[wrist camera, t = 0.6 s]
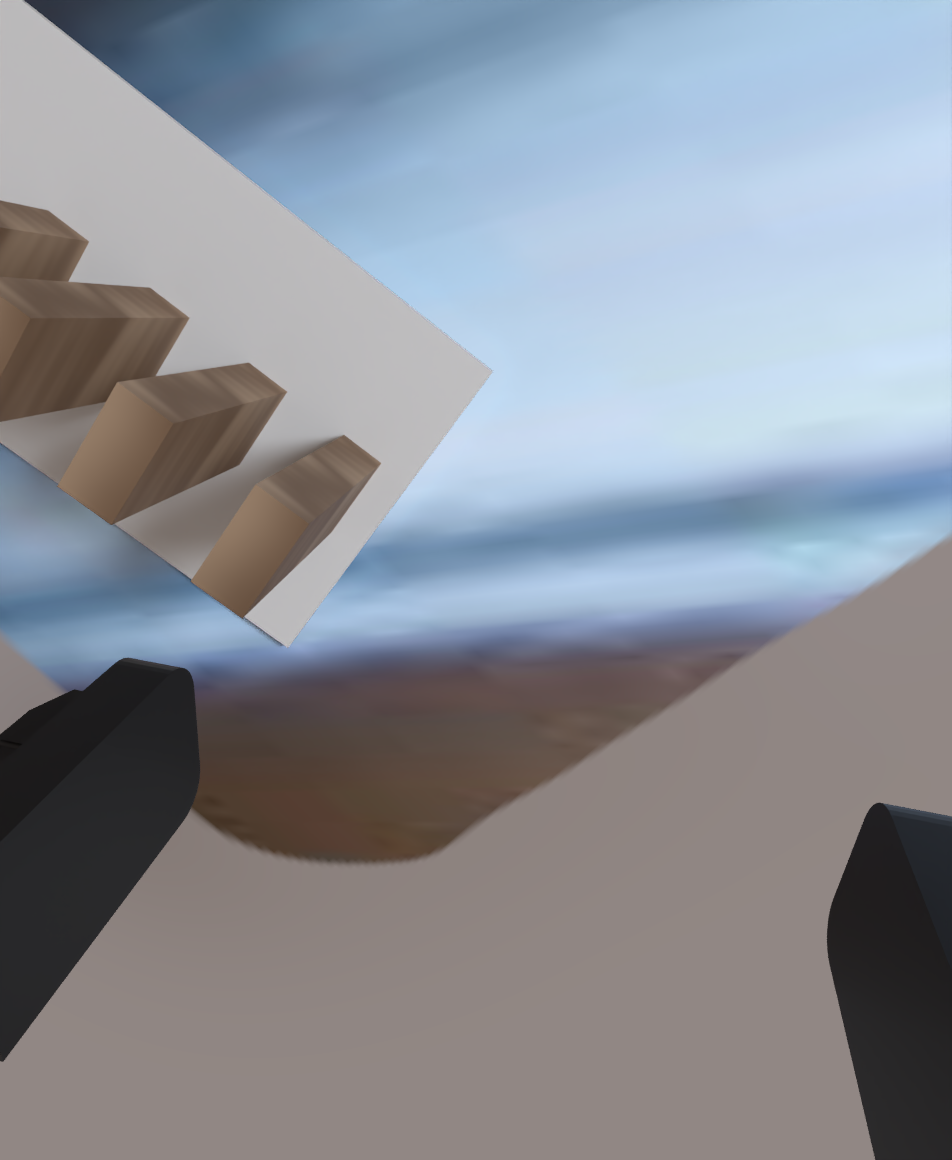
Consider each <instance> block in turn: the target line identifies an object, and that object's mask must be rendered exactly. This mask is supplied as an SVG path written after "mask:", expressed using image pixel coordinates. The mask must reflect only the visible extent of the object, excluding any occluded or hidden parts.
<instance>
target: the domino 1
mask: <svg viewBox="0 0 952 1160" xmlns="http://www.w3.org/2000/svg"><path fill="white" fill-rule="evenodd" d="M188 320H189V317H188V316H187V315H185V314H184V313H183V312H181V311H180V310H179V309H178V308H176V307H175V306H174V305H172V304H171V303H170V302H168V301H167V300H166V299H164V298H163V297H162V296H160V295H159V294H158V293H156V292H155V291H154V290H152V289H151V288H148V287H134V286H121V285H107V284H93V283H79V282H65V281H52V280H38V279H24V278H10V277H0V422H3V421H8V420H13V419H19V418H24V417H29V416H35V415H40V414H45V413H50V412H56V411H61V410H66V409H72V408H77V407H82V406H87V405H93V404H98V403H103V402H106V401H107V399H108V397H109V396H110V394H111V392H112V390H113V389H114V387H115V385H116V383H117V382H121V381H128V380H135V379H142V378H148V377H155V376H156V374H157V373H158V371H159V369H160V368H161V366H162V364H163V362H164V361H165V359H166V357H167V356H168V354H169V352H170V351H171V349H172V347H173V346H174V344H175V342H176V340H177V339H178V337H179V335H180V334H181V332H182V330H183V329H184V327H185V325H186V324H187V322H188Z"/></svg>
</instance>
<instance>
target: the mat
mask: <svg viewBox="0 0 952 1160" xmlns="http://www.w3.org/2000/svg"><path fill="white" fill-rule="evenodd" d="M0 200H1V201H6V202H11V203H15V204H20V205H25V206H30V207H35V208H39V209H44V210H48V211H50V212H51V213H52V214H54V215H55V216H56V217H58V218H59V219H60V220H61V221H63V222H64V223H65V224H67V225H68V226H69V227H71V228H72V229H73V230H75V231H76V232H77V233H79V234H80V235H81V236H83V237H84V238H85V239H87V240H88V241H89V243H88V245H87V247H86V249H85V251H84V253H83V255H82V256H81V258H80V260H79V262H78V264H77V266H76V268H75V270H74V271H73V273H72V275H71V277H70V279H69V281H68V282H79V283H93V284H107V285H121V286H134V287H148V288H151V289H152V290H154V291H155V292H156V293H158V294H159V295H160V296H162V297H163V298H164V299H166V300H167V301H168V302H170V303H171V304H172V305H174V306H175V307H176V308H178V309H179V310H180V311H181V312H183V313H184V314H185V315H187V316H188V317H189V320H188V322H187V324H186V325H185V327H184V329H183V330H182V332H181V334H180V335H179V337H178V339H177V340H176V342H175V344H174V346H173V347H172V349H171V351H170V352H169V354H168V356H167V357H166V359H165V361H164V362H163V364H162V366H161V368H160V369H159V371H158V373H157V374H156V376H162V375H168V374H175V373H182V372H189V371H195V370H202V369H209V368H216V367H222V366H229V365H236V364H242V363H250V364H251V365H253V366H254V367H255V368H257V369H258V370H259V371H261V372H262V373H263V374H265V375H266V376H267V377H269V378H270V379H271V380H272V381H274V382H275V383H276V384H278V385H279V386H280V387H282V388H283V389H284V390H286V391H287V393H286V395H285V396H284V398H283V399H282V401H281V402H280V404H279V405H278V407H277V408H276V410H275V411H274V413H273V414H272V416H271V418H270V419H269V421H268V422H267V424H266V425H265V427H264V428H263V430H262V431H261V433H260V434H259V436H258V437H257V439H256V440H255V442H254V444H253V445H252V447H251V448H250V450H249V451H248V453H247V454H246V456H245V457H244V459H243V460H242V462H241V463H240V465H238V466H236V467H234V468H232V469H230V470H228V471H226V472H223V473H221V474H219V475H217V476H215V477H213V478H211V479H208V480H206V481H204V482H202V483H200V484H198V485H196V486H194V487H191V488H189V489H187V490H185V491H183V492H181V493H179V494H176V495H174V496H172V497H170V498H168V499H166V500H164V501H161V502H159V503H157V504H155V505H153V506H151V507H149V508H147V509H144V510H142V511H140V512H138V513H136V514H134V515H132V516H129V517H127V518H125V519H123V520H121V521H119V522H117V523H115V525H116V526H118V527H119V528H121V529H122V530H123V531H125V532H126V533H128V534H129V535H130V536H132V537H133V538H135V539H136V540H137V541H139V542H140V543H142V544H143V545H144V546H146V547H147V548H149V549H150V550H151V551H153V552H154V553H156V554H157V555H158V556H160V557H161V558H163V559H164V560H165V561H167V562H168V563H170V564H171V565H172V566H174V567H175V568H177V569H178V570H179V571H181V572H182V573H184V574H185V575H186V576H188V577H189V578H191V579H193V577H194V576H195V574H196V573H197V571H198V570H199V568H200V567H201V565H202V564H203V562H204V561H205V559H206V558H207V556H208V555H209V553H210V552H211V550H212V549H213V547H214V546H215V544H216V543H217V541H218V540H219V538H220V537H221V535H222V534H223V532H224V531H225V529H226V528H227V526H228V525H229V523H230V522H231V520H232V519H233V517H234V516H235V514H236V513H237V511H238V510H239V508H240V507H241V505H242V504H243V502H244V501H245V499H246V498H247V496H248V495H249V493H250V492H251V490H252V489H253V487H254V486H255V484H257V483H259V482H260V481H262V480H264V479H266V478H268V477H269V476H271V475H273V474H275V473H277V472H278V471H280V470H282V469H284V468H286V467H287V466H289V465H291V464H293V463H295V462H296V461H298V460H300V459H302V458H303V457H305V456H307V455H309V454H311V453H312V452H314V451H316V450H318V449H320V448H321V447H323V446H325V445H327V444H329V443H330V442H332V441H334V440H336V439H338V438H339V437H341V436H343V435H345V436H346V437H348V438H349V439H350V440H352V441H353V442H354V443H356V444H357V445H358V446H359V447H361V448H362V449H363V450H365V451H366V452H367V453H369V454H370V455H371V456H373V457H374V458H375V459H377V460H378V461H379V462H381V464H380V466H379V467H378V469H377V470H376V471H375V473H374V474H373V476H372V477H371V478H370V480H369V481H368V482H367V484H366V485H365V487H364V488H363V489H362V491H361V492H360V494H359V495H358V496H357V498H356V499H355V501H354V502H353V503H352V505H351V506H350V507H349V509H348V510H347V512H346V513H345V514H344V516H343V517H342V519H341V520H340V521H339V523H338V524H337V526H336V527H335V528H334V530H333V531H332V532H331V534H329V535H328V536H327V537H326V538H325V539H324V540H323V541H322V542H321V543H320V544H319V545H318V546H317V547H316V548H315V549H314V550H313V551H312V552H311V553H310V554H309V555H308V556H307V557H306V558H305V559H304V560H303V561H301V562H300V563H299V564H298V565H297V566H296V567H295V568H294V569H293V570H292V571H291V572H290V573H289V574H288V575H287V576H286V577H285V578H284V579H283V580H282V581H281V582H280V583H279V584H278V585H277V586H276V587H274V588H273V589H272V590H271V591H270V592H269V593H268V594H267V595H266V596H265V597H264V598H263V599H262V600H261V601H260V602H259V603H258V604H257V605H256V606H255V607H254V608H253V609H252V610H251V611H250V612H249V613H247V614H246V615H245V616H244V617H245V618H247V619H248V620H249V621H251V622H252V623H254V624H255V625H256V626H258V627H259V628H261V629H262V630H263V631H265V632H266V633H268V634H269V635H270V636H272V637H273V638H275V639H276V640H277V641H279V642H280V643H282V644H283V645H284V646H286V647H287V648H288V647H289V646H290V645H291V644H292V642H293V641H294V639H295V638H296V637H297V635H298V634H299V633H300V631H301V630H302V629H303V627H304V626H305V625H306V623H307V622H308V621H309V619H310V618H311V617H312V615H313V614H314V612H315V611H316V610H317V608H318V607H319V606H320V604H321V603H322V602H323V600H324V599H325V598H326V596H327V595H328V594H329V592H330V591H331V590H332V588H333V587H334V585H335V584H336V583H337V581H338V580H339V579H340V577H341V576H342V575H343V573H344V572H345V571H346V569H347V568H348V567H349V565H350V564H351V563H352V561H353V560H354V558H355V557H356V556H357V554H358V553H359V552H360V550H361V549H362V548H363V546H364V545H365V544H366V542H367V541H368V540H369V538H370V537H371V536H372V534H373V533H374V531H375V530H376V529H377V527H378V526H379V525H380V523H381V522H382V521H383V519H384V518H385V517H386V515H387V514H388V513H389V511H390V510H391V509H392V507H393V506H394V504H395V503H396V502H397V500H398V499H399V498H400V496H401V495H402V494H403V492H404V491H405V490H406V488H407V487H408V486H409V484H410V483H411V482H412V480H413V479H414V477H415V476H416V475H417V473H418V472H419V471H420V469H421V468H422V467H423V465H424V464H425V463H426V461H427V460H428V459H429V457H430V456H431V455H432V453H433V452H434V450H435V449H436V448H437V446H438V445H439V444H440V442H441V441H442V440H443V438H444V437H445V436H446V434H447V433H448V432H449V430H450V429H451V428H452V426H453V425H454V423H455V422H456V421H457V419H458V418H459V417H460V415H461V414H462V413H463V411H464V410H465V409H466V407H467V406H468V405H469V403H470V402H471V401H472V399H473V398H474V396H475V395H476V394H477V392H478V391H479V390H480V388H481V387H482V386H483V384H484V383H485V382H486V380H487V379H488V378H489V376H490V375H491V374H492V372H493V371H492V370H491V369H490V368H489V367H487V366H486V365H485V364H484V363H482V362H481V361H480V360H479V359H477V358H476V357H475V356H473V355H472V354H471V353H470V352H468V351H467V350H466V349H465V348H463V347H462V346H461V345H460V344H458V343H457V342H456V341H454V340H453V339H452V338H451V337H449V336H448V335H447V334H446V333H444V332H443V331H442V330H441V329H439V328H438V327H437V326H435V325H434V324H433V323H432V322H430V321H429V320H428V319H427V318H425V317H424V316H423V315H422V314H420V313H419V312H418V311H416V310H415V309H414V308H413V307H411V306H410V305H409V304H408V303H406V302H405V301H404V300H403V299H401V298H400V297H399V296H397V295H396V294H395V293H394V292H392V291H391V290H390V289H389V288H387V287H386V286H385V285H384V284H382V283H381V282H380V281H378V280H377V279H376V278H375V277H373V276H372V275H371V274H370V273H368V272H367V271H366V270H365V269H363V268H362V267H361V266H360V265H358V264H357V263H356V262H354V261H353V260H352V259H351V258H349V257H348V256H347V255H346V254H344V253H343V252H342V251H341V250H339V249H338V248H337V247H335V246H334V245H333V244H332V243H330V242H329V241H328V240H327V239H325V238H324V237H323V236H322V235H320V234H319V233H318V232H316V231H315V230H314V229H313V228H311V227H310V226H309V225H308V224H306V223H305V222H304V221H303V220H301V219H300V218H299V217H297V216H296V215H295V214H294V213H292V212H291V211H290V210H289V209H287V208H286V207H285V206H284V205H282V204H281V203H280V202H278V201H277V200H276V199H275V198H273V197H272V196H271V195H270V194H268V193H267V192H266V191H265V190H263V189H262V188H261V187H259V186H258V185H257V184H256V183H254V182H253V181H252V180H251V179H249V178H248V177H247V176H246V175H244V174H243V173H242V172H240V171H239V170H238V169H237V168H235V167H234V166H233V165H232V164H230V163H229V162H228V161H227V160H225V159H224V158H223V157H221V156H220V155H219V154H218V153H216V152H215V151H214V150H213V149H211V148H210V147H209V146H208V145H206V144H205V143H204V142H203V141H201V140H200V139H199V138H197V137H196V136H195V135H194V134H192V133H191V132H190V131H189V130H187V129H186V128H185V127H184V126H182V125H181V124H180V123H178V122H177V121H176V120H175V119H173V118H172V117H171V116H170V115H168V114H167V113H166V112H165V111H163V110H162V109H161V108H159V107H158V106H157V105H156V104H154V103H153V102H152V101H151V100H149V99H148V98H147V97H146V96H144V95H143V94H142V93H140V92H139V91H138V90H137V89H135V88H134V87H133V86H132V85H130V84H129V83H128V82H127V81H125V80H124V79H123V78H121V77H120V76H119V75H118V74H116V73H115V72H114V71H113V70H111V69H110V68H109V67H108V66H106V65H105V64H104V63H102V62H101V61H100V60H99V59H97V58H96V57H95V56H94V55H92V54H91V53H90V52H89V51H87V50H86V49H85V48H83V47H82V46H81V45H80V44H78V43H77V42H76V41H75V40H73V39H72V38H71V37H70V36H68V35H67V34H66V33H65V32H63V31H62V30H61V29H59V28H58V27H57V26H56V25H54V24H53V23H52V22H51V21H49V20H48V19H47V18H46V17H44V16H43V15H42V14H40V13H39V12H38V11H37V10H35V9H34V8H33V7H32V6H30V5H29V4H28V3H27V2H25V1H24V0H0ZM105 403H106V402H103V403H98V404H93V405H87V406H82V407H77V408H72V409H66V410H61V411H56V412H50V413H45V414H40V415H35V416H29V417H24V418H19V419H13V420H8V421H3V422H0V443H2V444H3V445H4V446H6V447H7V448H9V449H10V450H11V451H13V452H14V453H16V454H17V455H18V456H20V457H21V458H23V459H24V460H25V461H27V462H28V463H30V464H31V465H32V466H34V467H35V468H37V469H38V470H39V471H41V472H42V473H44V474H45V475H46V476H48V477H49V478H51V479H52V480H53V481H55V482H56V483H58V484H59V482H60V481H61V479H62V477H63V475H64V474H65V472H66V470H67V469H68V467H69V465H70V463H71V462H72V460H73V458H74V456H75V455H76V453H77V451H78V449H79V448H80V446H81V444H82V442H83V441H84V439H85V437H86V436H87V434H88V432H89V430H90V429H91V427H92V425H93V423H94V422H95V420H96V418H97V416H98V415H99V413H100V411H101V409H102V408H103V406H104V404H105Z"/></svg>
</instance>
